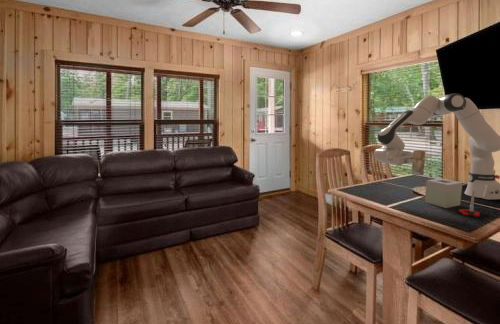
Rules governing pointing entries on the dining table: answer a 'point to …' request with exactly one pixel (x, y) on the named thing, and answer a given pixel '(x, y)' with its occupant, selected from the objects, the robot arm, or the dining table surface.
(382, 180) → the dining table surface
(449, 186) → the white tissue box
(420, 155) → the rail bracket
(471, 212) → the red base grey post
